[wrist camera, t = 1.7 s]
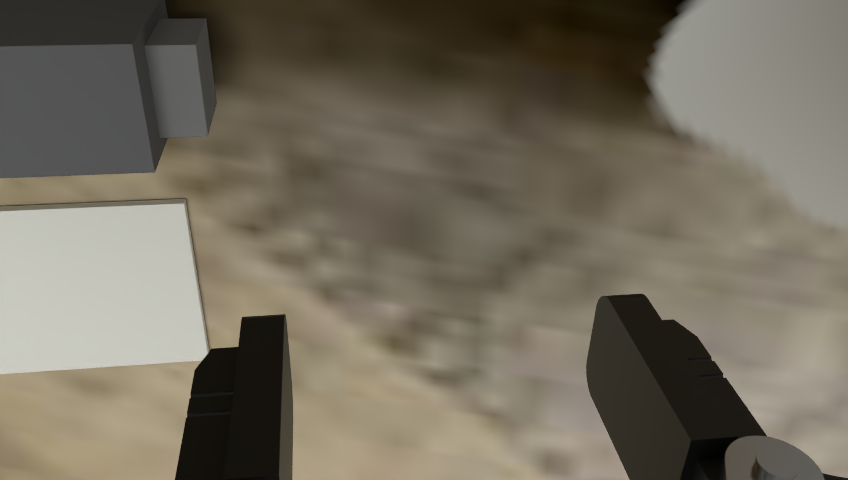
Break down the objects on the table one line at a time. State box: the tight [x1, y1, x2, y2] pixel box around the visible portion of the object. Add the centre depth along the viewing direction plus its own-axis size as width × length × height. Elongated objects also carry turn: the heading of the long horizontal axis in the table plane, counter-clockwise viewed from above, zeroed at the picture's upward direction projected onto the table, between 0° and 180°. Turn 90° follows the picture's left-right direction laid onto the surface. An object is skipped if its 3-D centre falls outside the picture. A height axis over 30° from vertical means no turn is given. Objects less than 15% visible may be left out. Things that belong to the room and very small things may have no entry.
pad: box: [0, 199, 209, 374], centre depth 31 cm, size 8×14×1 cm, turn 89°
